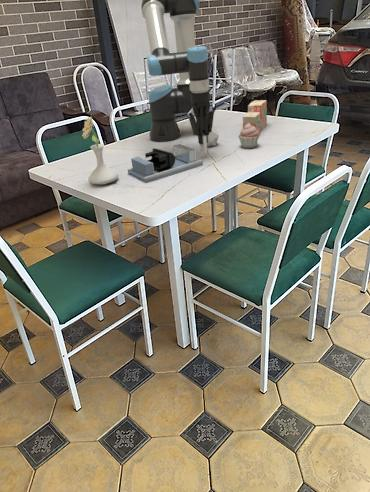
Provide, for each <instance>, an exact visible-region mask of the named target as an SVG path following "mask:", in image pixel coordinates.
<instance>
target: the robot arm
mask: <svg viewBox="0 0 370 492" xmlns="http://www.w3.org/2000/svg"><path fill="white" fill-rule="evenodd" d="M140 9H141V14H142V18H144V20H145V24H146V31H147V37H148V45H149V51H150V55H147V56H146V60H147V61H146V63H147V69H148V74H149V76H151V77H155V76H157V77H158V76H159V77H160V76H166V75H173V74H178V77H179V79H178V81H177V82H176V88H175V87H173V85H172V84H167V85H161V86H157V87H155V88H152V89H150V90H149V92H148V103H149V111H150V119H151V124H150V125H151V126H150V131H149V140H151V141H152V142H158V143H159V142H171V141H175V140H177V139H180V137H181V136H182V135H181V130H180V127H179V125H178V122H177V120H176V115H181V114H186V117H187V118H188V120H189V123H190V127H191V131H192V133H193V135H194V136H197V140H198V142H197V143H198V144H199V149H200V152H203V153H207V152H208V147H207V142H208V135H209V133H210V132H212V127H213V124H214V123H213V122H214V115H215V112H216V106H212V105H211V102H210V100H211V92H210V78H209V76H210V75H209V60H208V59H209V55H208V48H207V47H206V46H205V45H203V46H202V45H201V46H196V38H195V27H194V25H195V24H194V23H195V22H194V19H195V18H196V16H197V11H199V10H200V0H141V8H140ZM165 14H169V18H170V19H171V20H172V21H173V25H174V34H175V35H174V36H175V45H176V52H170V47H169V41H168V36H167V35H168V34H167V31H166V30H167V29H166V24H165V20H164V15H165Z"/></svg>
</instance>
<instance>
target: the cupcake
mask: <svg viewBox="0 0 370 492" xmlns="http://www.w3.org/2000/svg"><path fill="white" fill-rule="evenodd" d="M258 133H259V132H258V130H257V129H256V128H255V127H254V126H252V125H250V123H248V124H247V125H245V126H244V128H243V127H242V129H241V130H240V131H239V135H238V138H239V142H240V145H241V147H242V149H253V148H256V147H257V146H258V141H259V138H260V136H261V134H260V133H259V134H258Z"/></svg>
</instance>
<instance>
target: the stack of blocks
mask: <svg viewBox="0 0 370 492" xmlns="http://www.w3.org/2000/svg"><path fill="white" fill-rule="evenodd" d="M267 102H268V101H267V100H266V99H260V100H257V99H254V100H253V101H251V102H249V104H247V112H246V113H245V114H244V115H243V116H242V129H243V128H244V126H245V125H247V124H248V123H250V125H252V126H254V127H255V128H256V129H257V130H258V132H259V133H258V134H260V133H261V132H262V130H264V129H265V127H266V126H267V124H268V123H267V122H268V121H267V118H268V117H267V111H268V110H267V108H268V105H267V104H268V103H267Z"/></svg>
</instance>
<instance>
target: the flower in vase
mask: <svg viewBox="0 0 370 492" xmlns="http://www.w3.org/2000/svg"><path fill="white" fill-rule="evenodd" d="M93 125H94V122H93V117H92V116H90V117H89V116H88V117H87V118H86V120H84V125H83V126H84V127H83V128H82V138H83V139H84V140H86V139H87V138H88V137H89V136H90V134H91V132H92V133H93V134H92V137H91V140H92V141H93V142H94V143H95V144H92V145H90V149H91V150H93V153H94V155H95V159H96V163H97V165H96V167H95V168H94V170H93V171H92V172H91V173H90V174H89V176H88V182H89V183H90V184H93V185H97V186H98V185H107V184H110V183H112V182H115V181H116V180H117V179H118V178H119V174H118V172H117V171H116V170H114V169H112V168H111V167H108V166H107V165H106V164H105V162H104V159H103V151H104V147H105V144H102V143H99V142H100V139H99V138H98V136H97V134H96V132H94V130H93Z"/></svg>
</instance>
